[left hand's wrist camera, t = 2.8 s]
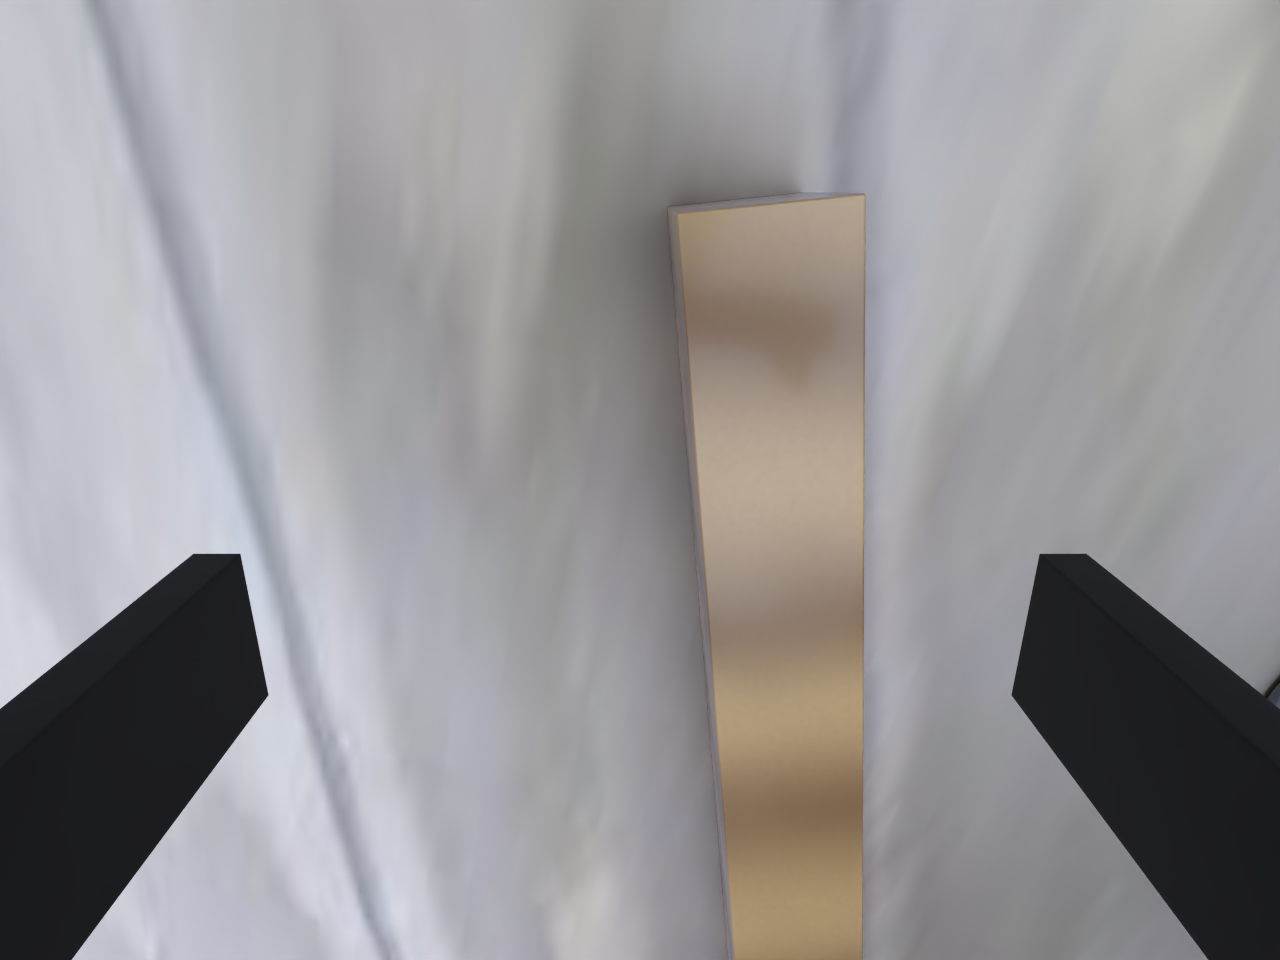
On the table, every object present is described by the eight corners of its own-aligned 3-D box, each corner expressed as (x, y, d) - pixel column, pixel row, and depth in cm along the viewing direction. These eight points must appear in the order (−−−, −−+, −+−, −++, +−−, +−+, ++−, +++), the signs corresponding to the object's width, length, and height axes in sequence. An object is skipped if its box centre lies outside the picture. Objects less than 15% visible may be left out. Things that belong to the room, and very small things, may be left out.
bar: (666, 206, 28) (676, 212, 21) (803, 192, 28) (866, 193, 20) (748, 1206, 50) (767, 1395, 42) (826, 1201, 50) (860, 1391, 42)
